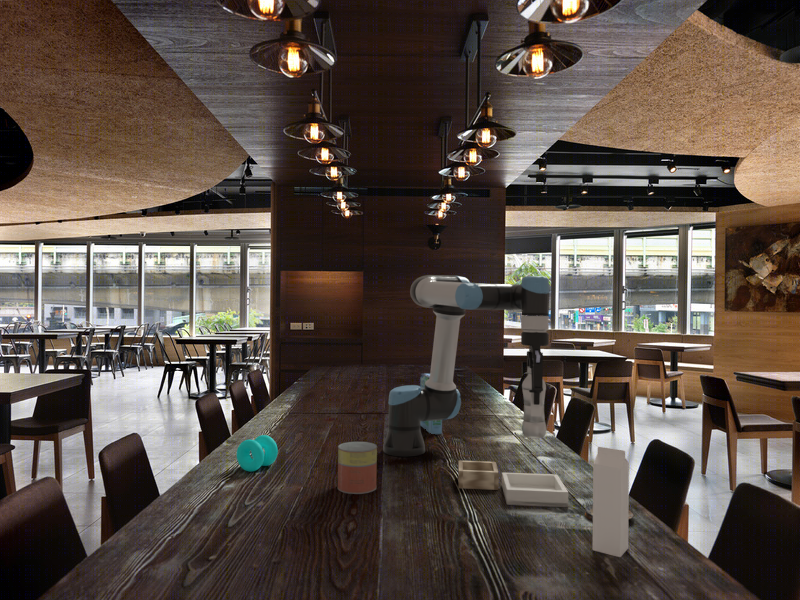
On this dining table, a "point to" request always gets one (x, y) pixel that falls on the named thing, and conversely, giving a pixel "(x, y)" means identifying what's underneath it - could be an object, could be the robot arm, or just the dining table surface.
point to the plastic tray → (534, 490)
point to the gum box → (434, 425)
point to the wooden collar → (478, 475)
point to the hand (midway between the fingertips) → (534, 413)
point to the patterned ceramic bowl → (590, 513)
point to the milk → (610, 501)
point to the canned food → (357, 467)
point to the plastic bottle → (531, 424)
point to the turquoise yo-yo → (257, 453)
